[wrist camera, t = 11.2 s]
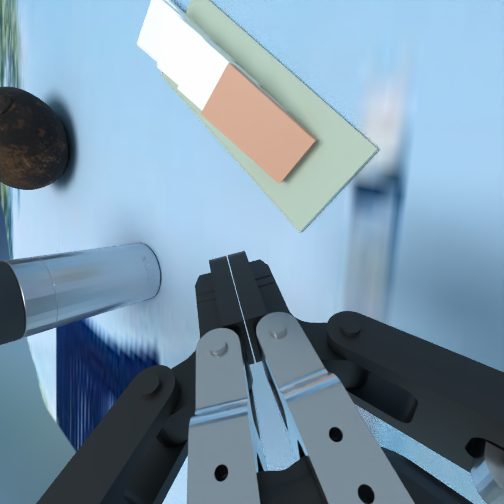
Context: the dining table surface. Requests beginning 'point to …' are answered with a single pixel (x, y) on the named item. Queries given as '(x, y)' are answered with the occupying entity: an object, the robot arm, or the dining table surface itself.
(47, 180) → the glass bottle
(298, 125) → the domino
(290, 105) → the mat
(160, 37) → the domino
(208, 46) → the domino
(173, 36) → the domino
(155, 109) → the dining table surface
